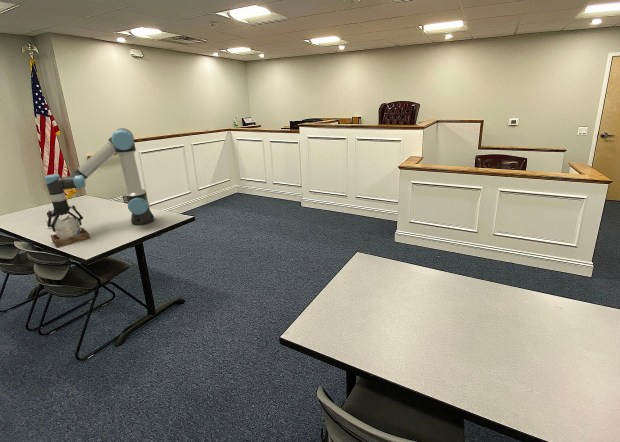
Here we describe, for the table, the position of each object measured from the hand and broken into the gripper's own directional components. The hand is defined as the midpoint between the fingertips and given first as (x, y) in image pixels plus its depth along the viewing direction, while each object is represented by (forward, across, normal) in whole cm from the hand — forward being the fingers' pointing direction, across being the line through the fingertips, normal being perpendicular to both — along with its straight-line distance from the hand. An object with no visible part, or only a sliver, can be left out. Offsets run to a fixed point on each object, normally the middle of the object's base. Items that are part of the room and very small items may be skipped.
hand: (69, 233), depth 219 cm
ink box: (+2, 0, 0) cm, 2 cm away
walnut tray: (+5, 0, 0) cm, 5 cm away
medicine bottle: (+5, +2, -37) cm, 37 cm away
